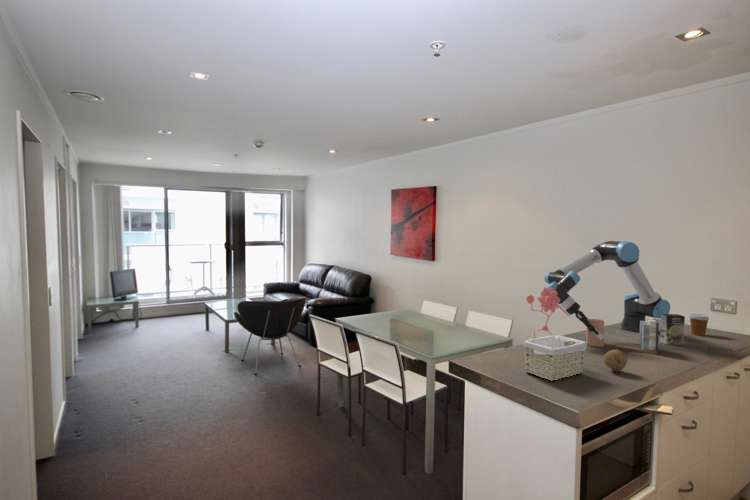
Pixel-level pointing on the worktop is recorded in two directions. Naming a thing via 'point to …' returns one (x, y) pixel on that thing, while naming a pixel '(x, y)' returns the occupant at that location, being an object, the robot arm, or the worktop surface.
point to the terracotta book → (591, 337)
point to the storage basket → (554, 356)
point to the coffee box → (672, 329)
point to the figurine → (546, 303)
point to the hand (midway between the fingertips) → (601, 336)
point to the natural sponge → (615, 360)
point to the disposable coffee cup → (698, 324)
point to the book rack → (643, 338)
